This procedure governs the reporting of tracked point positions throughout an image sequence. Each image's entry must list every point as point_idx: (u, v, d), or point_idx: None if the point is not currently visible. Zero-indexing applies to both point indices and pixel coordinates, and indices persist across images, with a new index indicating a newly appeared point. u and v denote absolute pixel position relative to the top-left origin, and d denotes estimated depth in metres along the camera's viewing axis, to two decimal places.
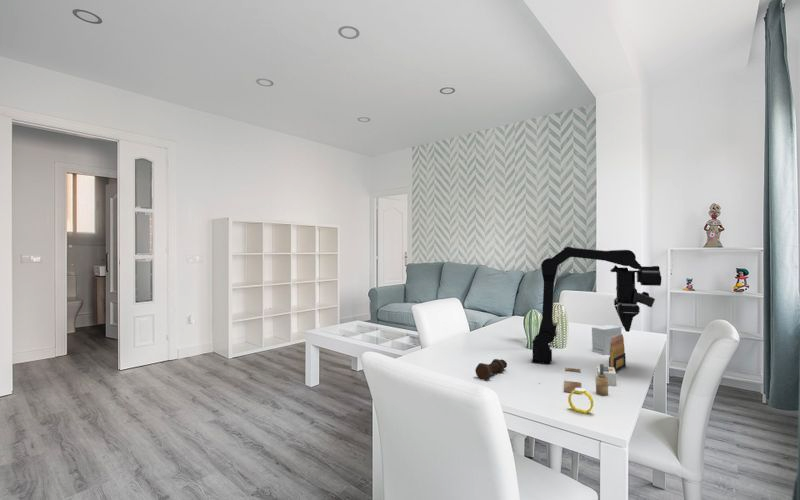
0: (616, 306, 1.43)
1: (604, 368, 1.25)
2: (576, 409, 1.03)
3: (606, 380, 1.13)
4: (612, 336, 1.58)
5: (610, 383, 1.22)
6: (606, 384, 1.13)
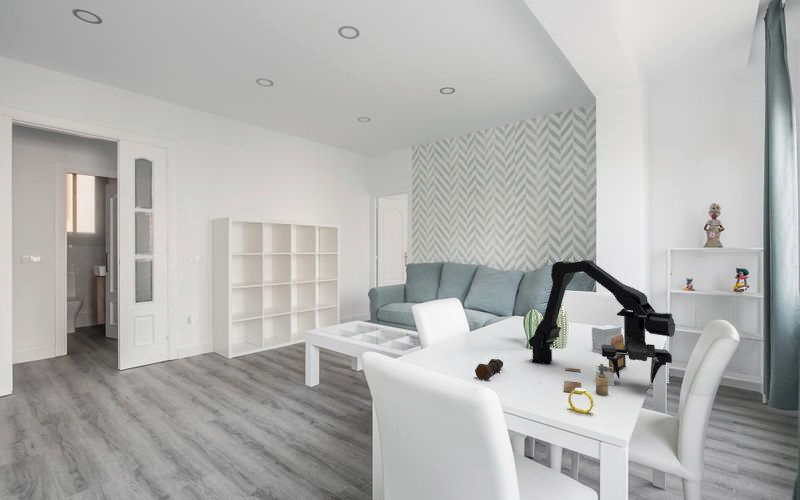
0: None
1: None
2: (576, 409, 1.03)
3: (606, 380, 1.13)
4: (612, 336, 1.58)
5: (608, 383, 1.22)
6: (606, 384, 1.13)
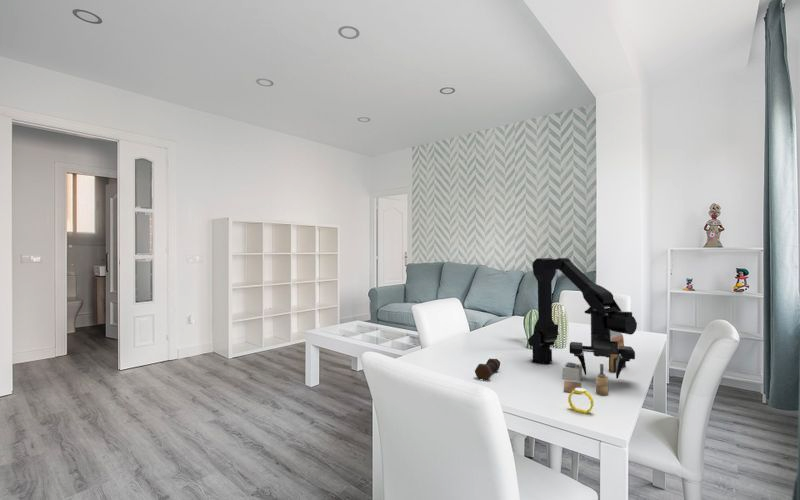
0: None
1: (570, 364, 1.30)
2: (576, 409, 1.03)
3: (606, 380, 1.13)
4: (612, 336, 1.58)
5: (573, 379, 1.26)
6: (606, 384, 1.13)
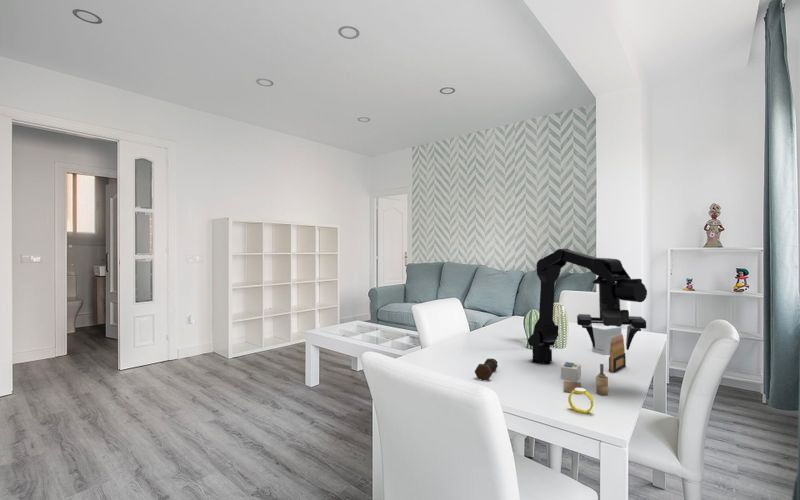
0: None
1: (569, 364, 1.30)
2: (576, 409, 1.03)
3: (606, 380, 1.13)
4: (612, 336, 1.58)
5: (572, 378, 1.27)
6: (606, 384, 1.13)
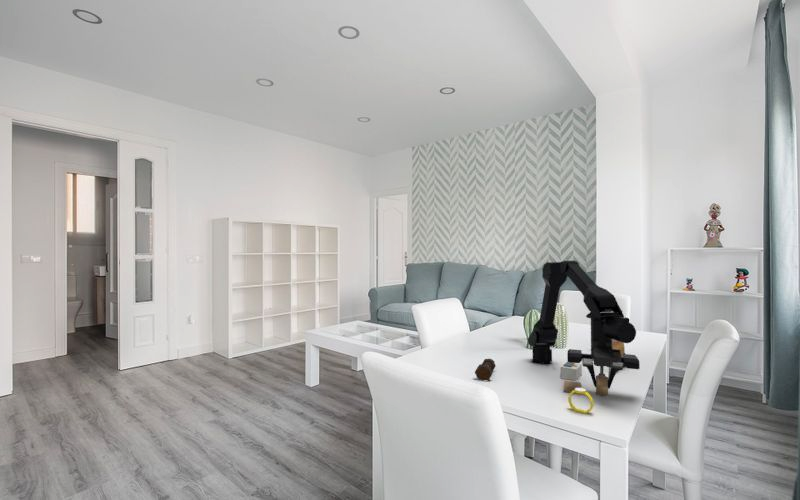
0: None
1: (569, 364, 1.30)
2: (576, 409, 1.03)
3: (606, 380, 1.13)
4: None
5: (571, 378, 1.27)
6: (606, 384, 1.13)
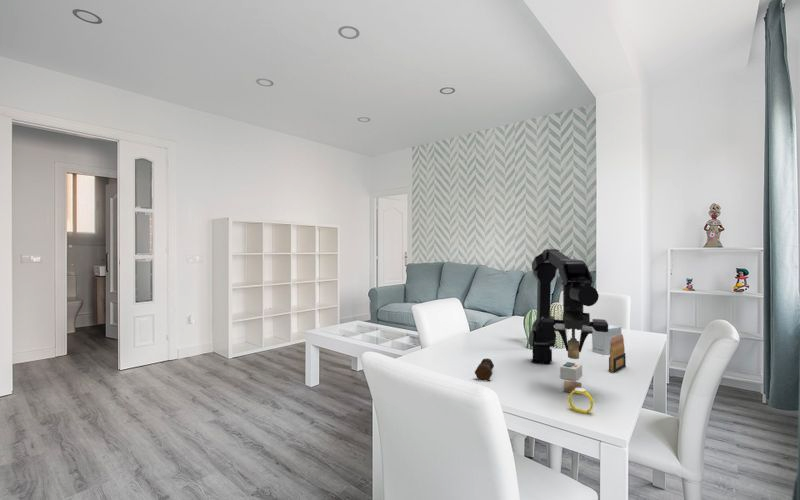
0: None
1: (569, 364, 1.30)
2: (576, 409, 1.03)
3: (577, 344, 1.17)
4: (612, 336, 1.58)
5: (570, 378, 1.27)
6: (577, 348, 1.17)
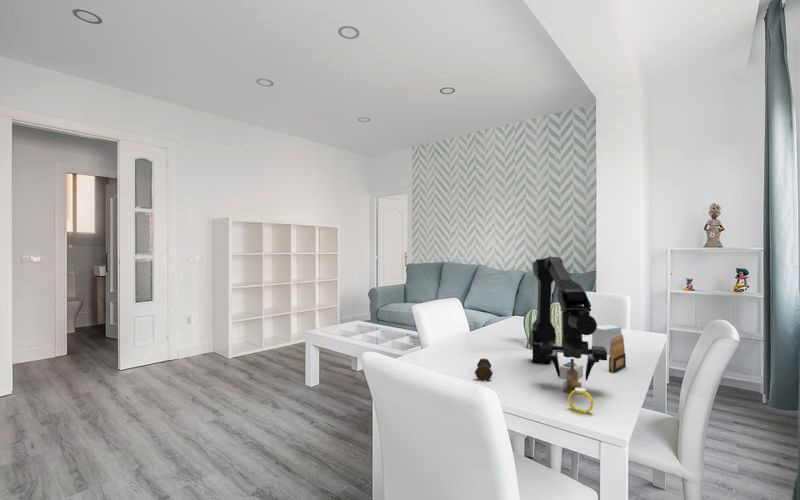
0: None
1: (569, 364, 1.30)
2: (576, 409, 1.03)
3: (576, 374, 1.17)
4: (612, 336, 1.58)
5: None
6: (576, 378, 1.17)
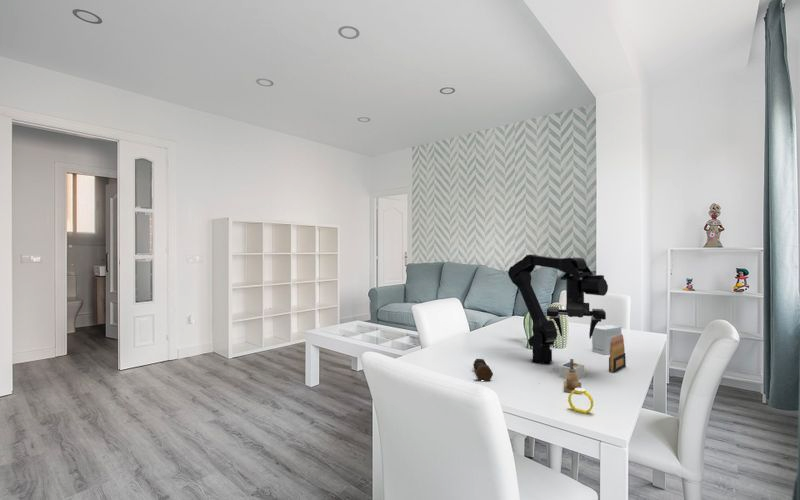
0: None
1: (569, 364, 1.30)
2: (576, 409, 1.03)
3: (576, 374, 1.17)
4: (612, 336, 1.58)
5: None
6: (576, 378, 1.17)
